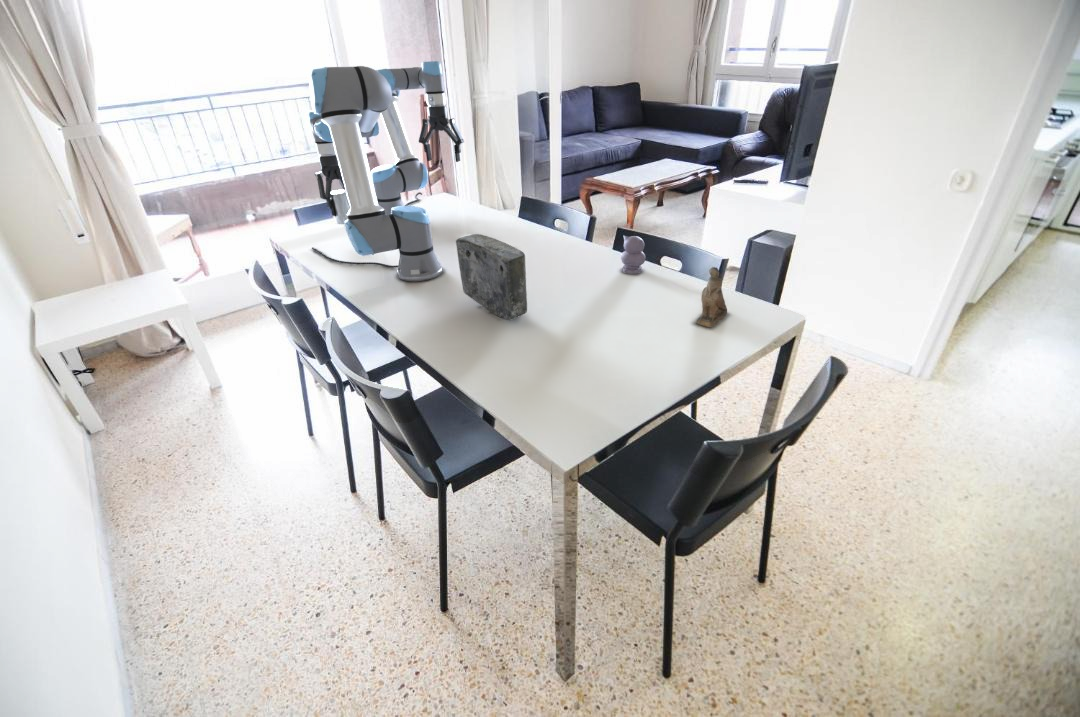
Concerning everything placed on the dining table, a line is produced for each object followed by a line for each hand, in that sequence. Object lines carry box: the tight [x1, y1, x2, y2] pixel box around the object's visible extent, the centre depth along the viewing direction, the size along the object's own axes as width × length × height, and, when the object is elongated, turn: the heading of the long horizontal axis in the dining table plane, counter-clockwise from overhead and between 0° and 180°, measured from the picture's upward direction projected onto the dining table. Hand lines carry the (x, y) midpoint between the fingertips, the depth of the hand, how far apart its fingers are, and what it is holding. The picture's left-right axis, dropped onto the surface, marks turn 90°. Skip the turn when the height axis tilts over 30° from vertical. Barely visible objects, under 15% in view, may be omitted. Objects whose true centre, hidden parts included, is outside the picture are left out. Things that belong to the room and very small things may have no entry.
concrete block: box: [455, 233, 528, 321], centre depth 143 cm, size 27×9×20 cm, turn 36°
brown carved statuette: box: [695, 266, 728, 328], centre depth 135 cm, size 12×6×18 cm, turn 136°
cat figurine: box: [620, 234, 646, 275], centre depth 168 cm, size 9×8×12 cm
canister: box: [331, 189, 350, 225], centre depth 204 cm, size 6×6×12 cm
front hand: (342, 213), depth 206 cm, fingers closed on canister, 6 cm apart
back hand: (443, 161), depth 212 cm, fingers open, 13 cm apart
